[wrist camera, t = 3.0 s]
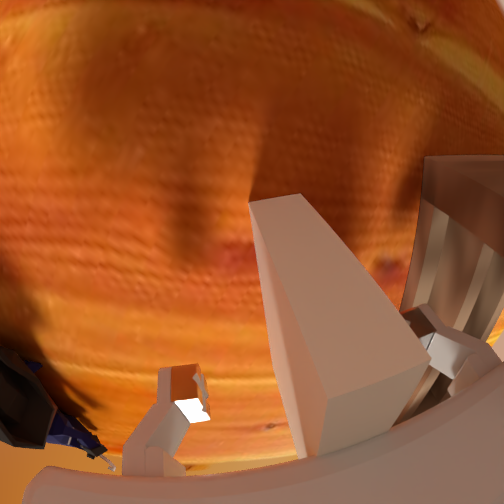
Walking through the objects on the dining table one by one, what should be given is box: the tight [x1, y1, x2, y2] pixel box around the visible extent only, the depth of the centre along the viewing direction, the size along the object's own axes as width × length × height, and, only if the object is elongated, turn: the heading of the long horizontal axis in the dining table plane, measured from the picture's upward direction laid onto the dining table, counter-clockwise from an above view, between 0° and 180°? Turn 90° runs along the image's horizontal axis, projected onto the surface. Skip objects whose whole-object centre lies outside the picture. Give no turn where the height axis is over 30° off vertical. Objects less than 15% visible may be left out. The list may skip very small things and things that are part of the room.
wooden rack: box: [392, 155, 504, 427], centre depth 13 cm, size 22×8×9 cm, turn 7°
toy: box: [0, 346, 116, 471], centre depth 13 cm, size 9×6×15 cm
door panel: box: [248, 193, 432, 459], centre depth 10 cm, size 10×2×8 cm, turn 7°
